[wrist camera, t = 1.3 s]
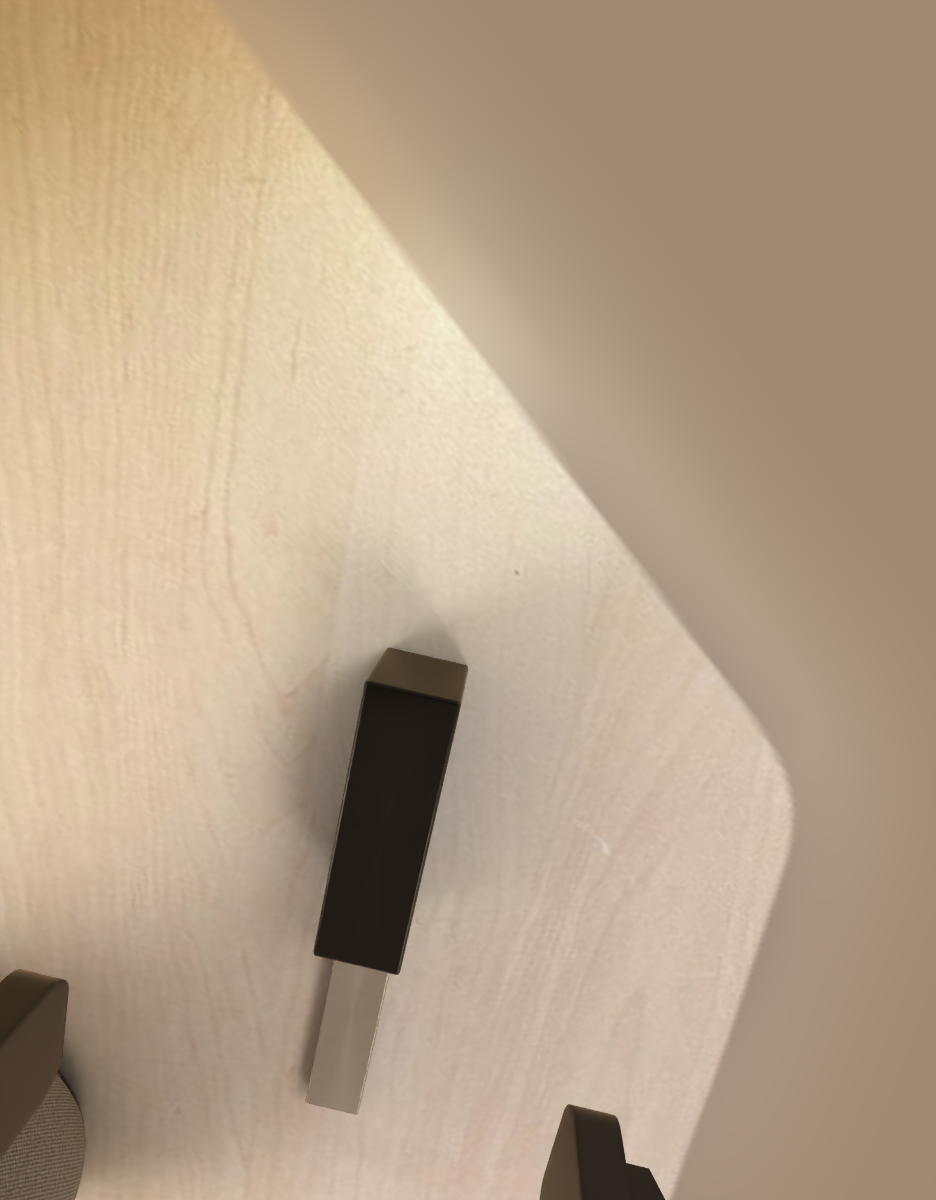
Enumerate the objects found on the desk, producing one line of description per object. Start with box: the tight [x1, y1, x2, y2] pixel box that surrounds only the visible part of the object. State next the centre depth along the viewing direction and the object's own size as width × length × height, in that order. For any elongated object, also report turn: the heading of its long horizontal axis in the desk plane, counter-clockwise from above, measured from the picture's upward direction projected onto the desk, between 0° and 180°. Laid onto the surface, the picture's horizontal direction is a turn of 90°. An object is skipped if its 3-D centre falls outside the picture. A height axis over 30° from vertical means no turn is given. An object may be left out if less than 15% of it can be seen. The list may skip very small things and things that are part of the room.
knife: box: [306, 648, 468, 1115], centre depth 19 cm, size 16×2×3 cm, turn 168°
